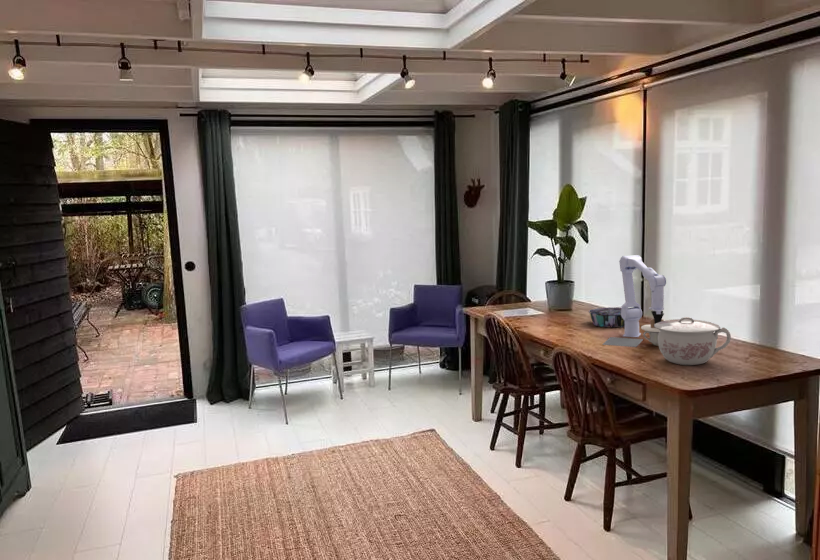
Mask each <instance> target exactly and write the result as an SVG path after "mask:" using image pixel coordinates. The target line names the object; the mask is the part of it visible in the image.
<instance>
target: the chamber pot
mask: <svg viewBox="0 0 820 560" xmlns="http://www.w3.org/2000/svg"><path fill="white" fill-rule="evenodd" d="M654 327H655V328H657V329H659V330H660V332H659V333H658V335H657V341H658V345H659V346H658V349H659V351H660V353H661V354H662V356H663V358H664V359H665V360H666V361H668V362H670V363H673V364H676V365H679V364H680V365H679V366H698V365H702V364H705V363H707V362H708V361H709V360H710V359H711V358H713V357H714V355H715V354H717V353H718V352H719V351H722V350H723V349H725V348H726V347H727V346H728V345H729V344H730V343H731V340H732V338H731V337H732V336H731V333H730V331H729V330H728V329H727V328H725V327H722V328H721V326H720V325H719V324H717V323H715V322H712V321H711V322H710V321H706V320H699V319H693V318H692V317H688V316H684V317H681V318H680V319H679V318H677V319H665V320H664V321H661V322H658V323H656V324H654ZM720 333H723V334H725V335H726V339H725V340H726V341H725V342H723V344H722V345H720V346H717V343H718V339H719V337H718V336H719V335H718V334H720ZM716 346H717V347H716Z"/></svg>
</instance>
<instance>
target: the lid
mask: <svg viewBox="0 0 820 560" xmlns="http://www.w3.org/2000/svg"><path fill="white" fill-rule="evenodd" d="M661 321H665V320H664V318H662V320H661ZM654 324H655V321H654V318H651V319H650V324H644V325H641V326H640V328H641V330H642V331H644V332H645V331H649V332H660V330H659V329H657V328H655V327H654Z"/></svg>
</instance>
